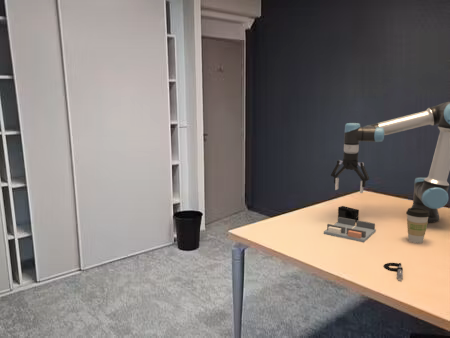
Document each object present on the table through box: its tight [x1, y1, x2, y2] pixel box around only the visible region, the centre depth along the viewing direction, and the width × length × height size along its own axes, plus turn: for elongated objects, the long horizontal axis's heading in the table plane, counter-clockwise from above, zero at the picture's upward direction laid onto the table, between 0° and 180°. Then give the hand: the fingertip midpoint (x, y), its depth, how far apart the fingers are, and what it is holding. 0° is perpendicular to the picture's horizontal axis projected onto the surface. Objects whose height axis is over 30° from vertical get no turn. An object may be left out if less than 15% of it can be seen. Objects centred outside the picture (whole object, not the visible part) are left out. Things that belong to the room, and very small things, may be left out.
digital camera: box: [337, 205, 360, 224], centre depth 212 cm, size 10×5×7 cm, turn 38°
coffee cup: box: [406, 207, 430, 244], centre depth 180 cm, size 10×10×15 cm
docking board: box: [323, 216, 377, 243], centre depth 193 cm, size 20×18×4 cm
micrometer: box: [382, 262, 404, 282], centre depth 150 cm, size 15×7×2 cm, turn 156°
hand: (348, 191), depth 209 cm, fingers open, 13 cm apart
